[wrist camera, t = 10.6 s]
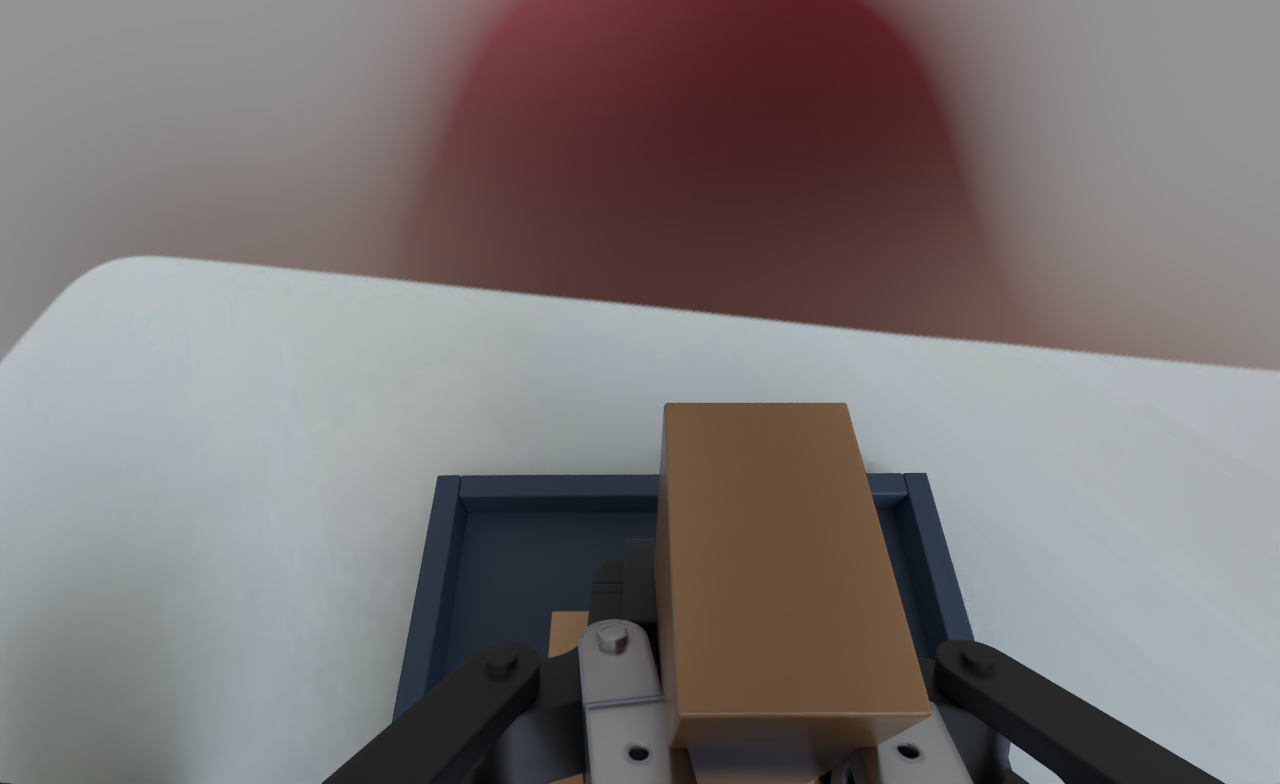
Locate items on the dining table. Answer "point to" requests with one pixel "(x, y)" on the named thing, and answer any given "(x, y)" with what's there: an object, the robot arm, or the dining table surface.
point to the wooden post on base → (771, 596)
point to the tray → (596, 530)
